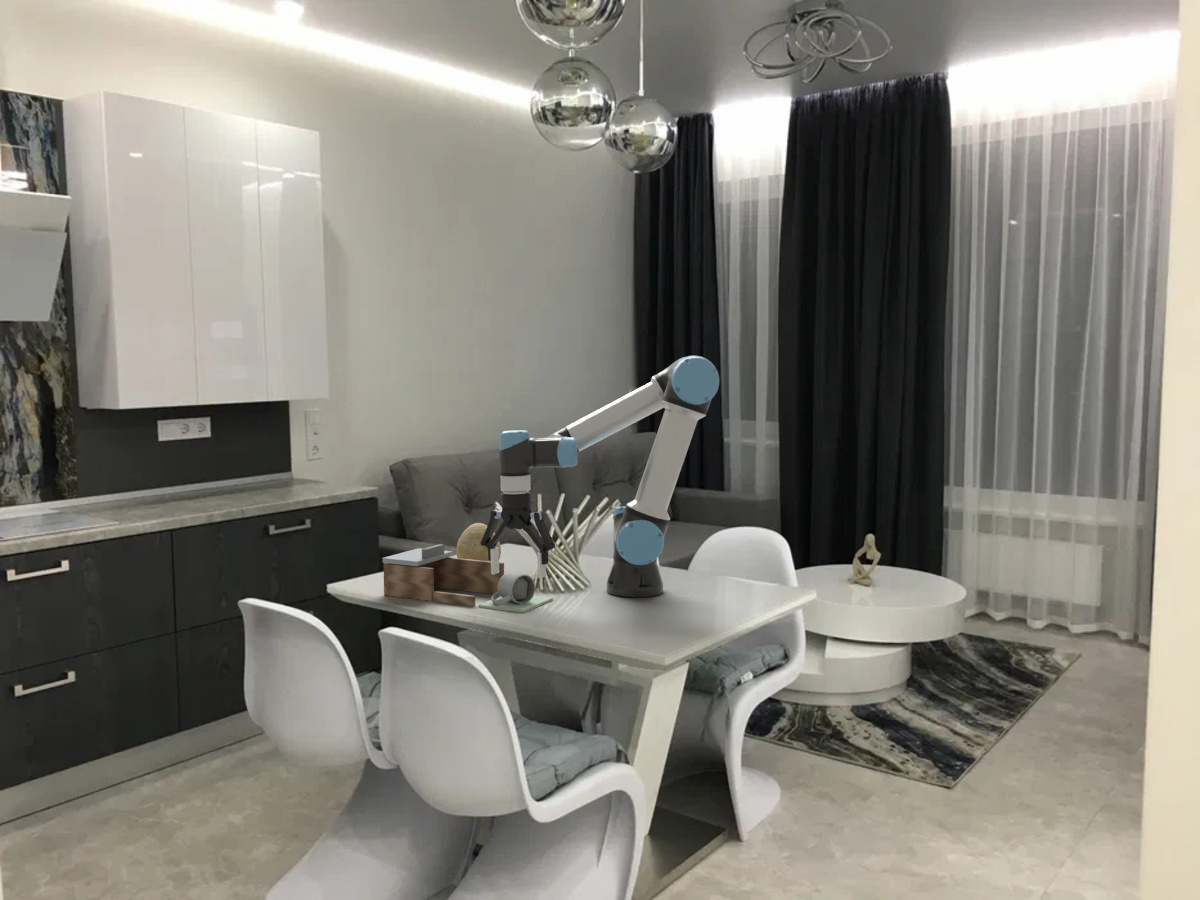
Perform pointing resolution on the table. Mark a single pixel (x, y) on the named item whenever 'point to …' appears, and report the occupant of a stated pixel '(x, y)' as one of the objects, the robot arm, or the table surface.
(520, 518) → the robot arm
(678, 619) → the table surface
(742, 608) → the table surface
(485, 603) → the sage mat
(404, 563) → the sliding cover
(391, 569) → the walnut well board
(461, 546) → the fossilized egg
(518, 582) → the ceramic mug
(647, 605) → the table surface
